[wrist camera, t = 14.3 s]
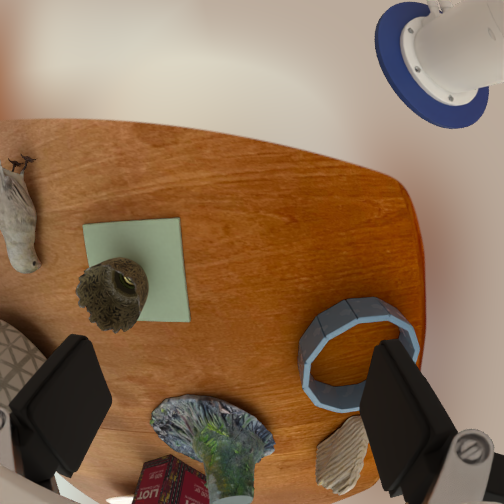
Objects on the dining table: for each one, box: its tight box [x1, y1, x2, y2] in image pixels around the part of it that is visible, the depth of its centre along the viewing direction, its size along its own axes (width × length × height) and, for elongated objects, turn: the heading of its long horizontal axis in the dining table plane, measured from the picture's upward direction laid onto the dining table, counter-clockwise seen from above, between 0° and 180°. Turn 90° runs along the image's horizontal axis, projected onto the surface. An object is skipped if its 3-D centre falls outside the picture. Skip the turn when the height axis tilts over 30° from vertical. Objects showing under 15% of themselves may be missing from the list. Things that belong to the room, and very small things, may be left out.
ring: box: [298, 297, 420, 413], centre depth 35 cm, size 16×16×5 cm
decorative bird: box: [0, 154, 42, 273], centre depth 29 cm, size 5×16×7 cm, turn 3°
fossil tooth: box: [315, 415, 369, 496], centre depth 38 cm, size 12×6×15 cm
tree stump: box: [150, 394, 276, 504], centre depth 36 cm, size 18×20×18 cm
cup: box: [76, 257, 149, 333], centre depth 30 cm, size 8×7×8 cm
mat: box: [83, 218, 191, 322], centre depth 34 cm, size 13×13×1 cm
